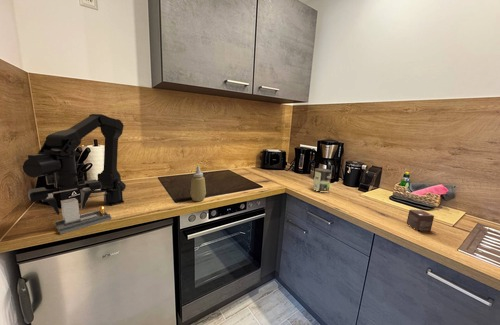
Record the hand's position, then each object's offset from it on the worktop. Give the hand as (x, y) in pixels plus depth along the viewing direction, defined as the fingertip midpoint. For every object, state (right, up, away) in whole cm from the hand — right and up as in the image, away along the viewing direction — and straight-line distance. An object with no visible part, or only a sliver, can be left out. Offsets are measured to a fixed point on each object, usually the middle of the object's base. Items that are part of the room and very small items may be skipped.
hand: (70, 211), depth 72 cm
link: (+1, -4, +3) cm, 5 cm away
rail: (+2, -5, +4) cm, 7 cm away
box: (+139, -11, +14) cm, 140 cm away
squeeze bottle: (+38, -2, +32) cm, 50 cm away
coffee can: (+113, -1, +59) cm, 128 cm away
